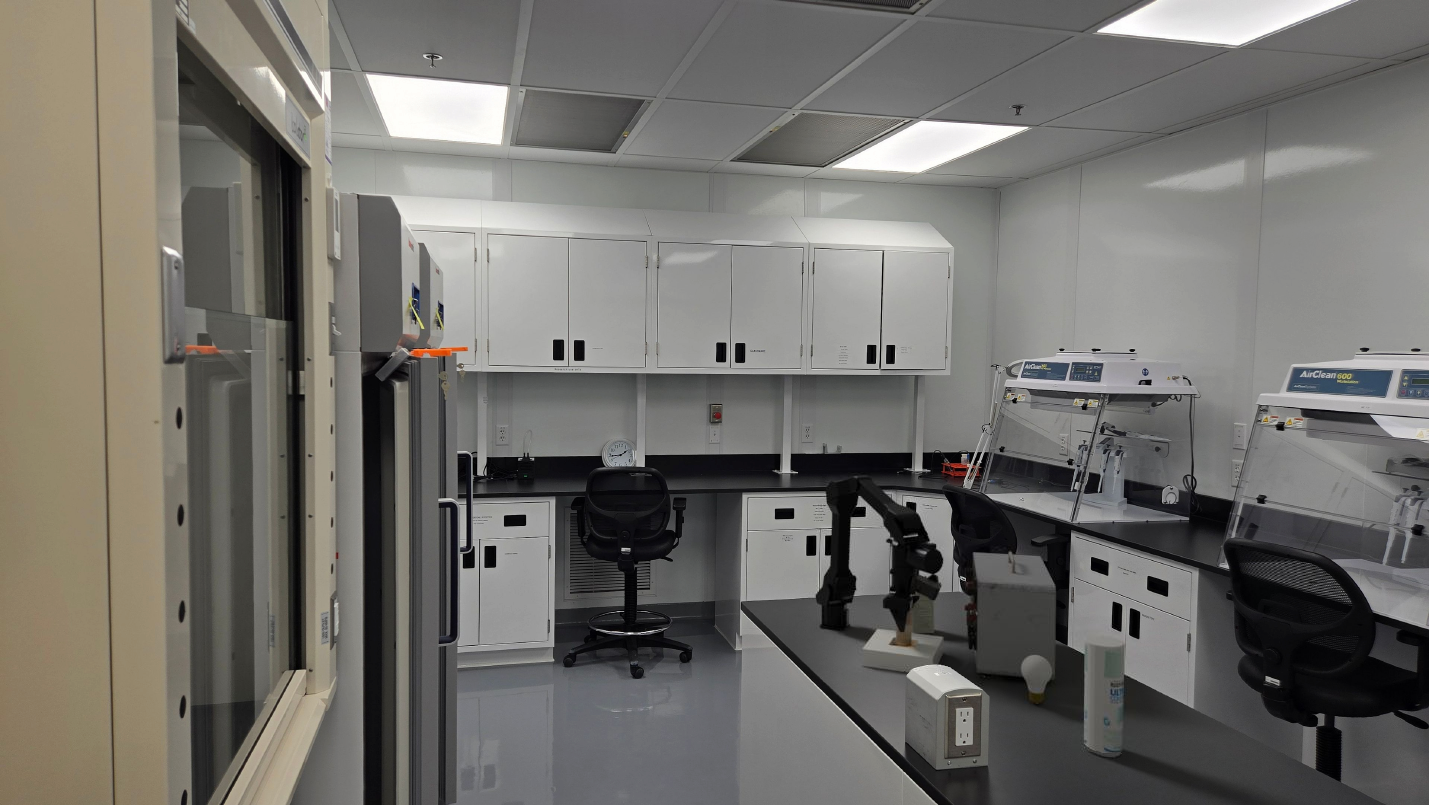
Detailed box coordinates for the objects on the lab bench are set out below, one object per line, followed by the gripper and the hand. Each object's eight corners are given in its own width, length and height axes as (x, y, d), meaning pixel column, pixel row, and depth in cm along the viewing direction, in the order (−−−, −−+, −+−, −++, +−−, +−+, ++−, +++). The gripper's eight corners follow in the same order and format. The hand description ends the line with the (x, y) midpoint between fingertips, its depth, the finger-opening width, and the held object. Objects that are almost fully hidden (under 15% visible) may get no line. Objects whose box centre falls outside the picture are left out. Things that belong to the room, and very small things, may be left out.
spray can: (1111, 761, 143) (1112, 649, 142) (1076, 748, 148) (1077, 639, 148) (1129, 751, 147) (1131, 642, 146) (1095, 738, 152) (1096, 632, 151)
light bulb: (1050, 700, 170) (1051, 652, 169) (1052, 711, 164) (1053, 662, 164) (1020, 696, 172) (1020, 649, 171) (1021, 707, 166) (1021, 659, 166)
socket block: (862, 665, 190) (862, 648, 190) (877, 644, 204) (877, 628, 204) (932, 676, 183) (932, 658, 183) (943, 653, 198) (943, 637, 198)
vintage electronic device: (963, 634, 212) (964, 539, 211) (1038, 640, 207) (1039, 543, 206) (967, 679, 181) (968, 568, 180) (1054, 688, 176) (1056, 573, 175)
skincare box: (931, 628, 217) (932, 583, 216) (934, 634, 212) (934, 587, 212) (907, 628, 217) (907, 582, 217) (909, 633, 213) (909, 587, 213)
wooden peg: (894, 645, 193) (894, 603, 192) (897, 640, 196) (897, 599, 196) (910, 647, 191) (910, 605, 191) (912, 642, 195) (913, 601, 194)
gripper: (932, 577, 181) (931, 646, 182) (944, 559, 198) (944, 622, 199) (882, 572, 186) (882, 640, 186) (898, 555, 203) (898, 617, 203)
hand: (903, 629), depth 194 cm, fingers closed on wooden peg, 4 cm apart
